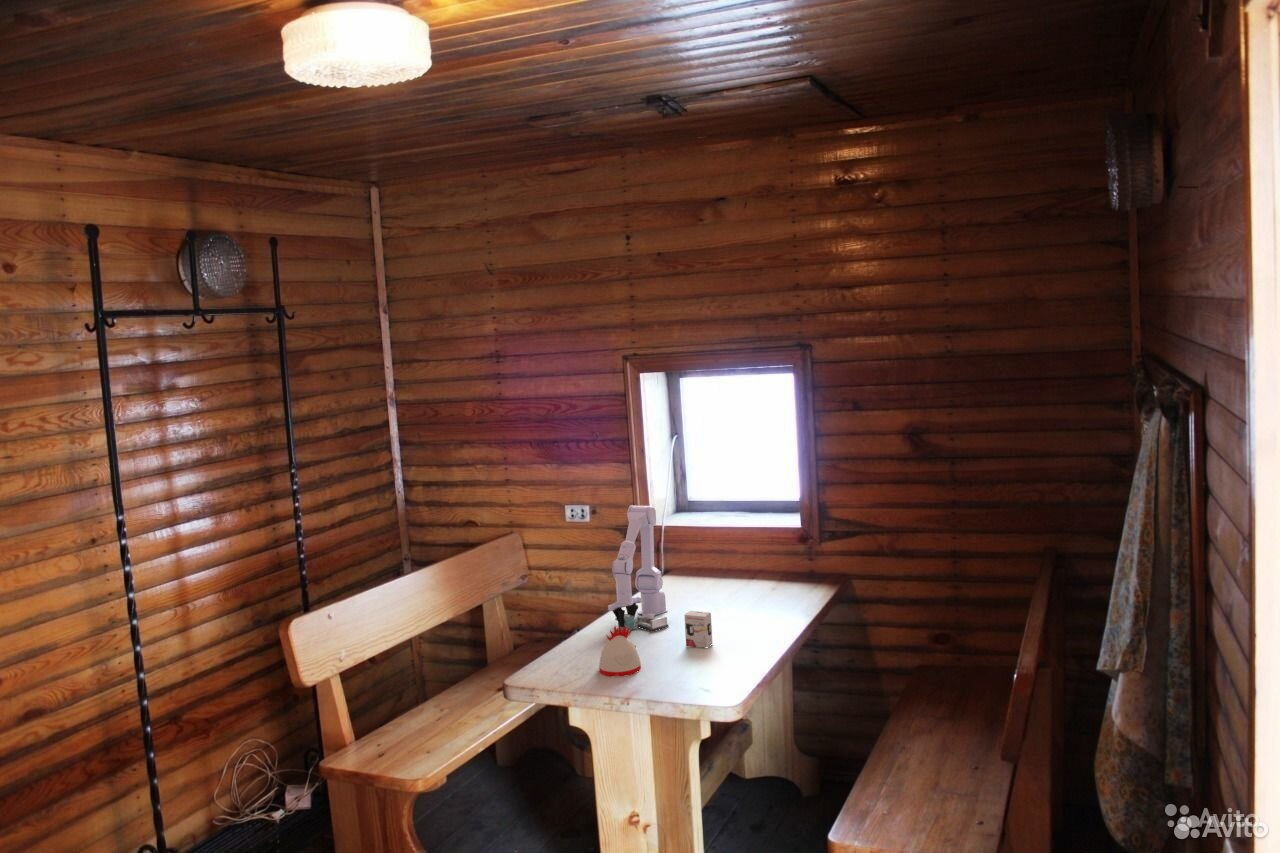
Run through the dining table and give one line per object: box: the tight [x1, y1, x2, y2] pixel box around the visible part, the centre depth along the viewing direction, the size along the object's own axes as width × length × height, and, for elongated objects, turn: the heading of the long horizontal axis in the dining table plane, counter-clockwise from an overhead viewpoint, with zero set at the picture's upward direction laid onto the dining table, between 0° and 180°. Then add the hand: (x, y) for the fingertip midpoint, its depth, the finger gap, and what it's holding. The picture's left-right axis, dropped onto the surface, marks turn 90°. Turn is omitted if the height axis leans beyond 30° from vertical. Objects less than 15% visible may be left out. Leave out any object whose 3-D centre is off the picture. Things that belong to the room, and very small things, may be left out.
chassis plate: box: [636, 613, 669, 632], centre depth 387 cm, size 8×9×4 cm
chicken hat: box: [598, 625, 642, 677], centre depth 341 cm, size 14×14×15 cm
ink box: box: [684, 610, 713, 648], centre depth 361 cm, size 9×5×12 cm, turn 62°
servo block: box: [614, 613, 638, 631], centre depth 386 cm, size 4×8×6 cm, turn 39°
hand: (626, 625), depth 387 cm, fingers closed on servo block, 4 cm apart
